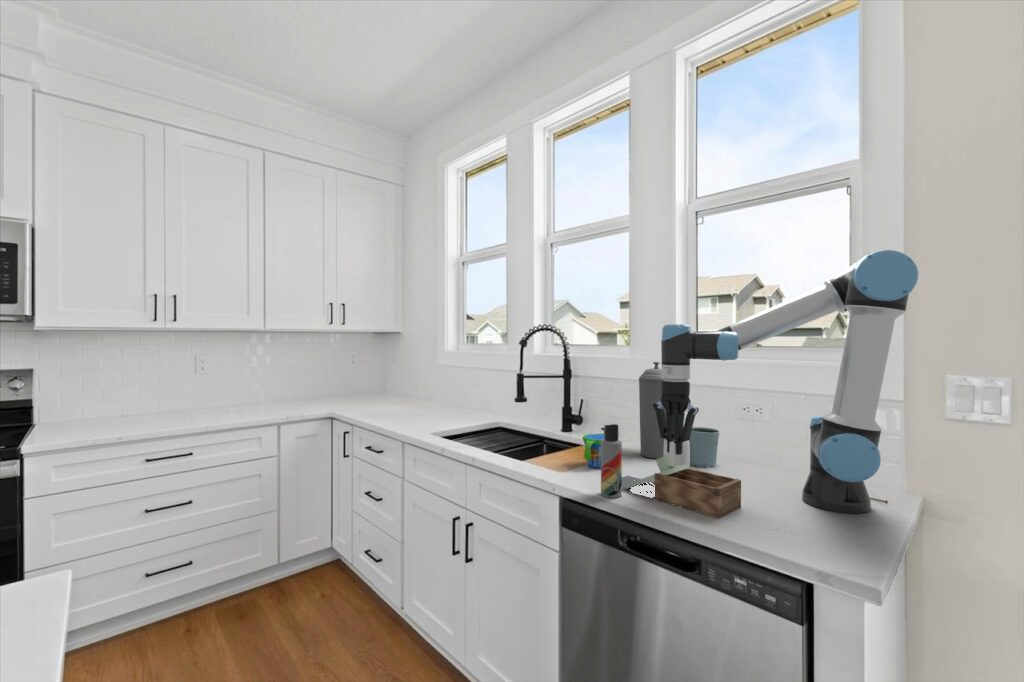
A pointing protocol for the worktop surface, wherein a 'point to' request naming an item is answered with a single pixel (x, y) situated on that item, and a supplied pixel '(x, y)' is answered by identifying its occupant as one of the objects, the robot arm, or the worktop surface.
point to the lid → (664, 470)
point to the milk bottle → (685, 452)
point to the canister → (650, 413)
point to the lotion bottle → (611, 463)
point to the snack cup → (593, 449)
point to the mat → (631, 479)
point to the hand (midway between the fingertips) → (674, 465)
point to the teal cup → (703, 446)
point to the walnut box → (699, 491)
